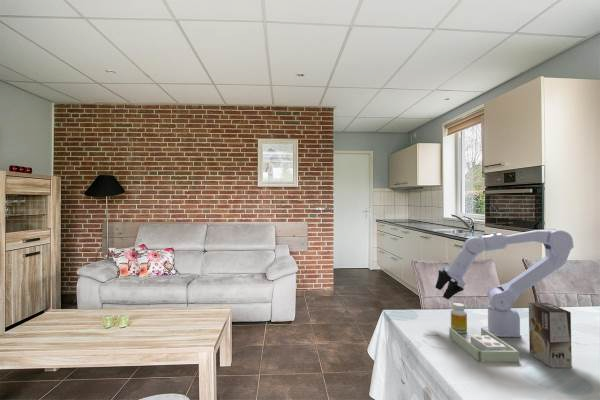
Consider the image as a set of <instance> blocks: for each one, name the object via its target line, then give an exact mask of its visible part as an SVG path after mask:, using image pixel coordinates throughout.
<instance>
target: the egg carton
mask: <svg viewBox="0 0 600 400" xmlns="http://www.w3.org/2000/svg"><path fill="white" fill-rule="evenodd" d="M470 343H471V344H472V345H474V346H475V347H476V348H477V349H479V350H480V351H506V346H504V345H503V344H501V343H500V342H498V341H496V340H495V339H493V338H491V337H490V336H488V335H484V336H481V335H470Z"/></svg>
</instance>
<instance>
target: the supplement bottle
mask: <svg viewBox="0 0 600 400" xmlns="http://www.w3.org/2000/svg"><path fill="white" fill-rule="evenodd" d="M467 321H468V313H467V311H466V310H465V304H463V303H461V302H459V303H458V302H454V303H452V308H451V310H450V328H452V329H453V330H455V331H456V332H457V333H458V334H465V333H468V332H467V331H468V330H467V329H468V322H467Z"/></svg>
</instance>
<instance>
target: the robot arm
mask: <svg viewBox="0 0 600 400" xmlns="http://www.w3.org/2000/svg"><path fill="white" fill-rule="evenodd" d="M529 242H537V243H541V244H543V246H544V252H545V256H544V257H543V258H541V259H540V260H538V261H537V262H536V263H534V264H533V265H531V266H529V267H528V268H526V270H524V271H523V272H521V273H520V274H518V275H517V276H516V277H514V278H513V279H511V280H510V281H508V282H505V283H502V284H500V285H499V286H495V287H491V288H490V289H488V291H487V299H488V300H489V301H490V302H489V303H488V304H487V326H483V327H482V328H484V329H485V330H487V331H488V332H490V333H491V334H493V335H494V336H496V337H498V338H499V337H500V338H503V337H504V338H521V337H522V335H521V317H520V314H519V312H518V311H517V310H516V309H515V308H512V306H513V304H514V303H515V302H516V301H517V300H518V299H519V296H520V295H521V294H523V293H524V292H525V291H527V290H529V289H530V288H532V287H533V286H534V285H536V284H538V283H539V282H541V281H542V280H544V279H545V278H547V277H549V275H551V274H553V273H555V272H556V271H557V270H559V269H560V268H561V267H563V266H564V265H565V264H566V263H567V261H568V258H569V255H570V253H571V250H572V249H573V248H574V240H573V237H572V235H571V234H570V233H569V232H567V231H564V230H557V229H555V228H548V229H535V230H529V231H524V232H519V233H513V234H509V235H508V234H507V235H504V234H502V233H500V232H499V233H498V232H491V234H487V235H480V234H479V235H478V236H477V237H475V236H472V237H469V238H467V239H465V241H464V246H463V247H462V248H461V250H459V252H458V254H457V255H456V257H455V258H454V260H453V261H452V263H451V264H450V266H449V267H448V266H447V265H443V267H442V269H441V270H440V269H439V270H438V274H437V275H438V276H437V281H436V284H435V286H434V288H435V289H437V290H438V291H441V290H442V289H443V288H444V287H445V286H446V284H447V283H448V284H447V287H446V289H445V291H444V293H443V295H442V297H443V298H444V299H446V300H450V299H451V298H452V297H453V296H454V295H456V294H458V293H459V292H462V291H464V290H465V288H464V287H465V286H466V282H465V281H464V279H463V277H464V276H465V275H466V273H467V272H468V270H469V269H470V267H471V266H472V264H473V263H474V262H475V260H476V257H478V255H480V254H481V253H483V252H491V251H495V250H504V249H506V247H507V246H508V245H514V244H515V245H516V244H523V243H529Z"/></svg>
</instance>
